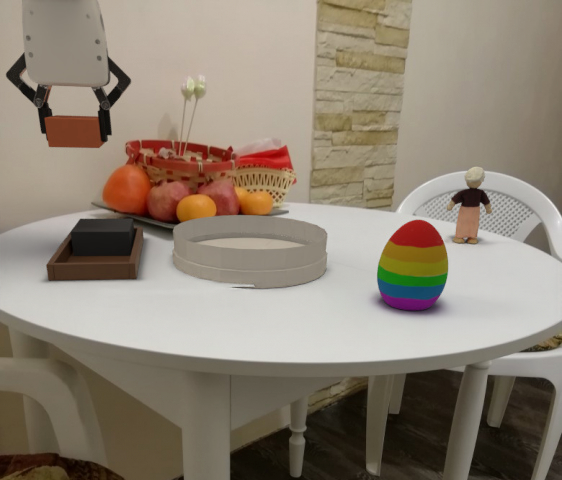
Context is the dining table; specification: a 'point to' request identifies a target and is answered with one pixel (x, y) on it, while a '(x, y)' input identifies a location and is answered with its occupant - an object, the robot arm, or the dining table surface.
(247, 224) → the dish
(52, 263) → the pad frame
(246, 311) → the dining table surface
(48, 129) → the pad
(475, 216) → the grandmother figurine
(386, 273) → the decorative egg
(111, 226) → the pad
